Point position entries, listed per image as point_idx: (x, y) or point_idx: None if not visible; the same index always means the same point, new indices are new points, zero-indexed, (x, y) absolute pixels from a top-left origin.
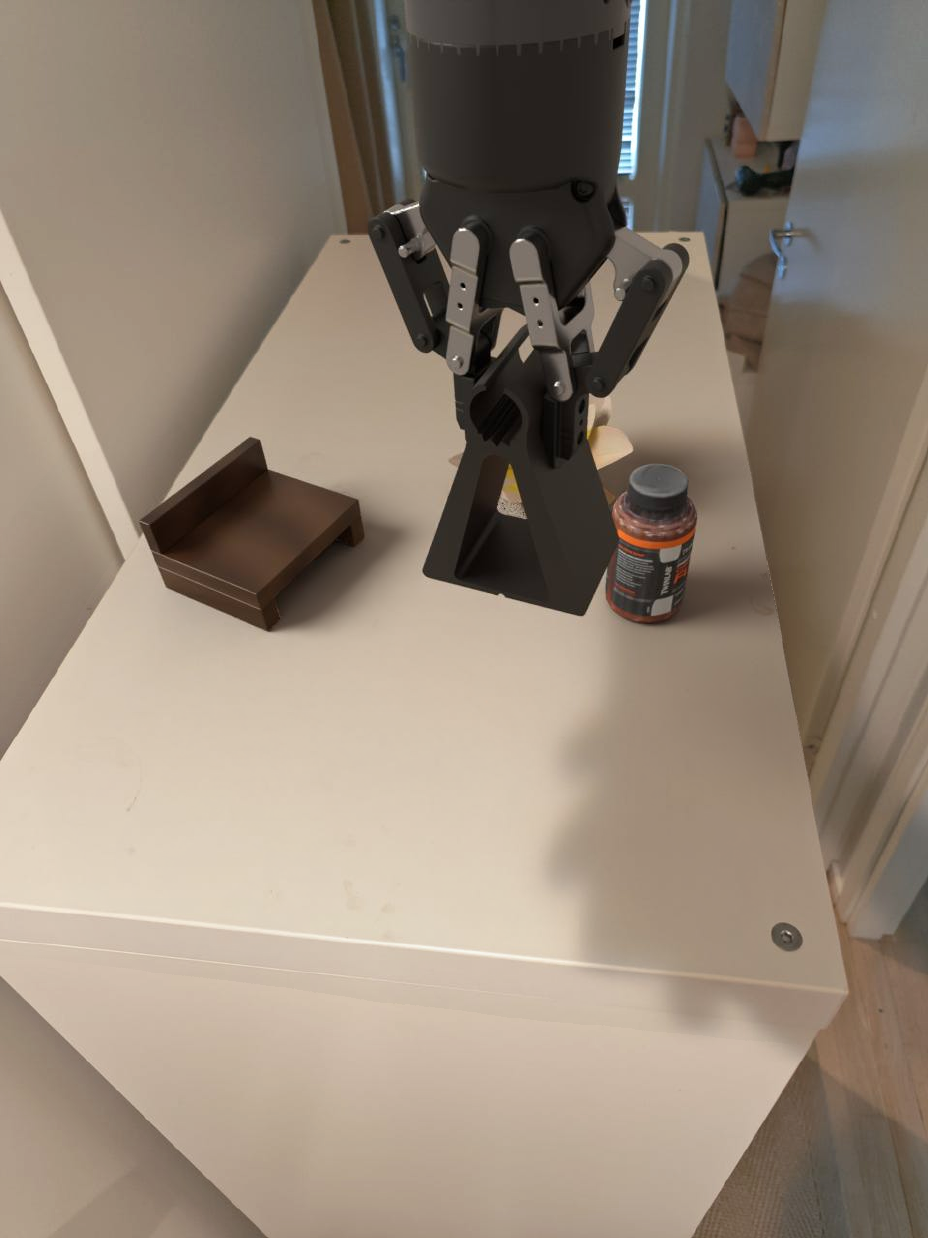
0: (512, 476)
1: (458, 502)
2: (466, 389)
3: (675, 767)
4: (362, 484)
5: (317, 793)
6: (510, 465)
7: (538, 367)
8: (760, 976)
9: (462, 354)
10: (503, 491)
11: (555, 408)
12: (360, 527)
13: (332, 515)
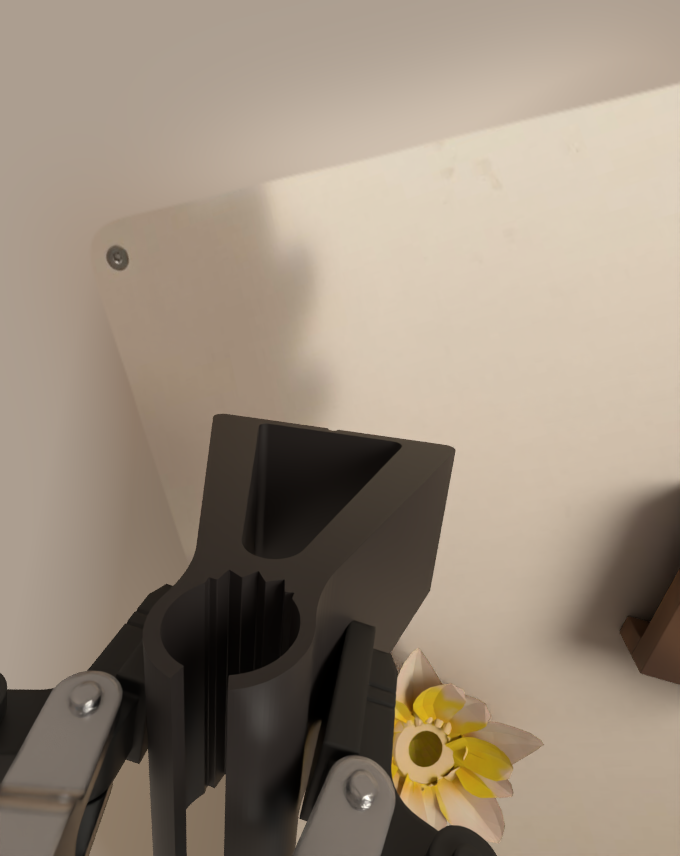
0: (461, 724)
1: (373, 506)
2: (352, 722)
3: (231, 397)
4: (647, 710)
5: (564, 280)
6: (467, 739)
7: (153, 768)
8: (128, 216)
9: (340, 811)
10: (463, 699)
11: (129, 661)
12: (627, 640)
13: (668, 644)
